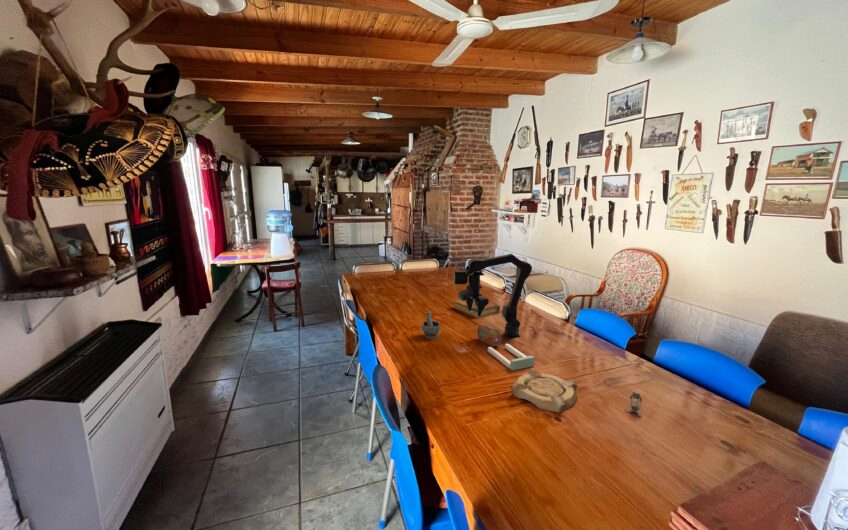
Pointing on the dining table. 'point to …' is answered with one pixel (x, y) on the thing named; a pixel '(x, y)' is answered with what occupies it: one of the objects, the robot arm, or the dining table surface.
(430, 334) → the mortar and pestle
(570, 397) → the ashtray
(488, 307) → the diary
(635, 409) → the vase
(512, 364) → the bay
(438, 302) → the dining table surface
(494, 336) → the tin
